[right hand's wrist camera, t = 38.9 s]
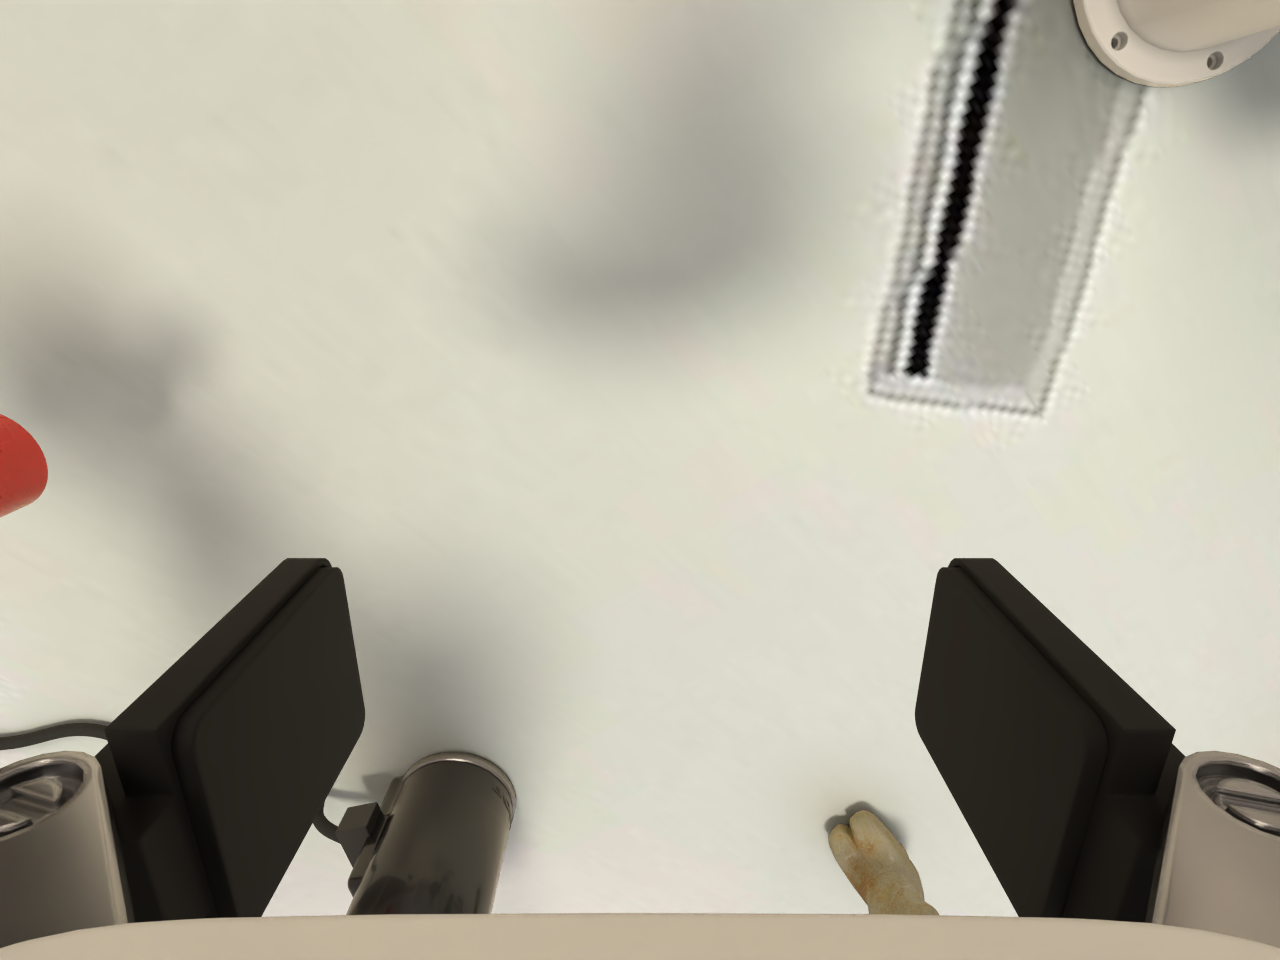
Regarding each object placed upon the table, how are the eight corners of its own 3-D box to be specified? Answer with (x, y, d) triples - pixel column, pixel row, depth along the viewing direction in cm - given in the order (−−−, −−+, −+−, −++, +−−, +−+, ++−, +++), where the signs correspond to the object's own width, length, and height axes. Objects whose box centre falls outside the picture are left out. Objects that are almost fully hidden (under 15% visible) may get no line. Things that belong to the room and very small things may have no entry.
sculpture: (871, 792, 57) (947, 980, 43) (920, 844, 59) (1008, 1040, 45) (812, 828, 58) (868, 1022, 44) (862, 878, 60) (930, 1079, 46)
